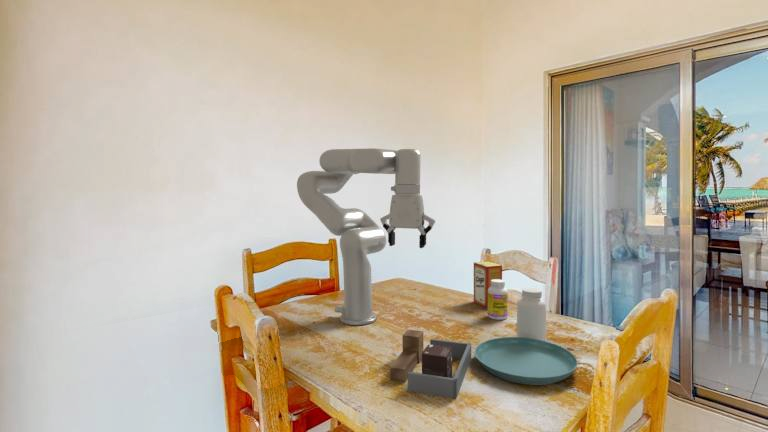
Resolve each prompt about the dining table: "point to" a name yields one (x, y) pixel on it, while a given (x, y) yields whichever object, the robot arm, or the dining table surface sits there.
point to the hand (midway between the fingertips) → (406, 246)
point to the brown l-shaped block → (407, 356)
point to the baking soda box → (484, 280)
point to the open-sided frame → (438, 383)
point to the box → (437, 361)
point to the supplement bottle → (497, 300)
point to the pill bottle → (531, 315)
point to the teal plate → (526, 360)
